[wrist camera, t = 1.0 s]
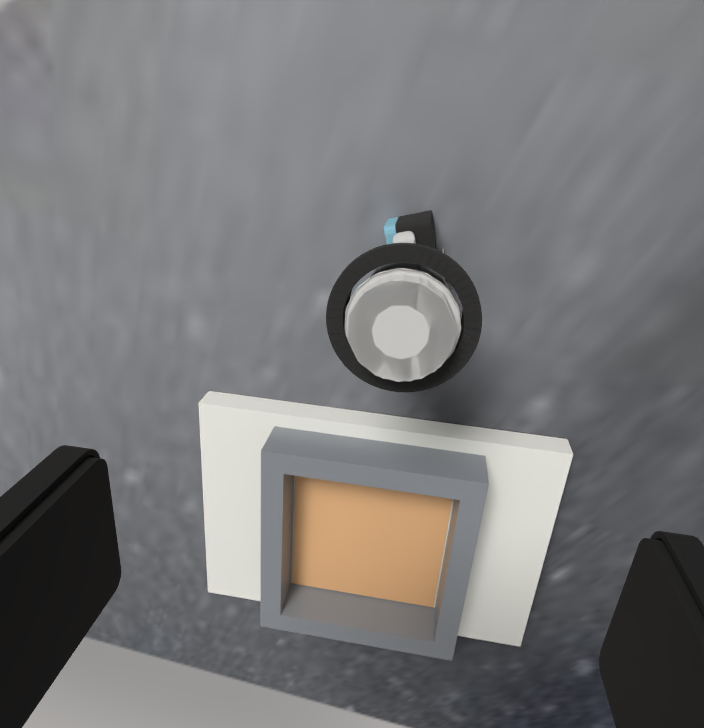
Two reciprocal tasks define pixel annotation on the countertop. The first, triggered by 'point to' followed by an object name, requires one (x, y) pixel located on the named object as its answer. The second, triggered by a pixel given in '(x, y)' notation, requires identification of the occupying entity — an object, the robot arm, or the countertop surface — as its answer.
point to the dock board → (376, 521)
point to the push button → (404, 311)
